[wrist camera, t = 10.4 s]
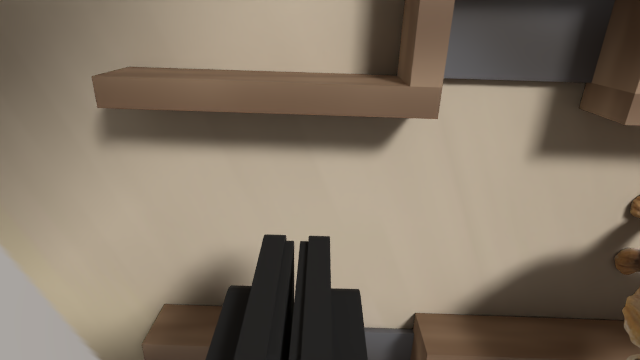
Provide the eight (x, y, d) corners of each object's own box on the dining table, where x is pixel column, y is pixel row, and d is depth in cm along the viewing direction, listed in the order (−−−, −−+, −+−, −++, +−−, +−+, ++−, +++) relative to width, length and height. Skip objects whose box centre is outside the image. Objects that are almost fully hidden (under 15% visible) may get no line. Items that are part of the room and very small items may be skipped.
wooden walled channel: (104, -93, 13) (-21, -154, 8) (1197, -60, 13) (1702, -105, 8) (178, 393, 21) (136, 498, 17) (834, 418, 21) (977, 531, 16)
